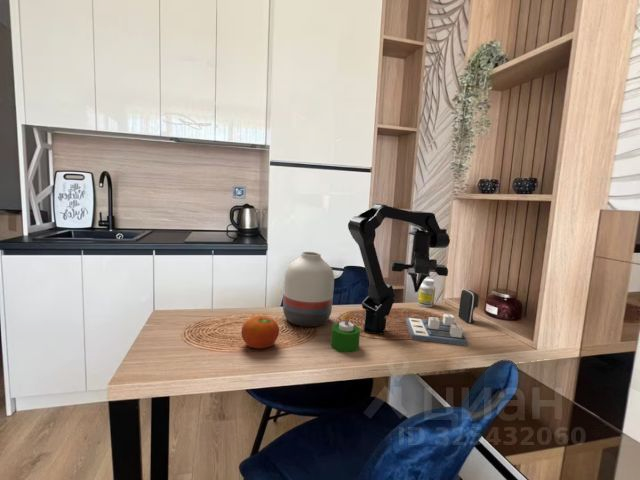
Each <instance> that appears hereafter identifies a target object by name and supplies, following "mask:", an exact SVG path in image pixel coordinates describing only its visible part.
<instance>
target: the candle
mask: <svg viewBox="0 0 640 480" xmlns="http://www.w3.org/2000/svg"><path fill="white" fill-rule="evenodd" d="M330 336H331V338H330V348H332V349H333V350H334V351H337V352H340V353H347V354H348V353H355V352H357V351H358V350H359V346H360V336H361V328H360V327H359V326H357V325H355V324H354V323H352V322H351V321H350V315H349V313H345V315H344V321H340V322H339V323H335V324H333V325H332V327H331V335H330Z"/></svg>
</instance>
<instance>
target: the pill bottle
mask: <svg viewBox="0 0 640 480" xmlns="http://www.w3.org/2000/svg"><path fill="white" fill-rule="evenodd" d="M418 292H419V294H418V302H417V303H418V305H419V306H421V307H424V308H431V307H433V306H434V302H435V294H436V293H435V292H436V286H435V280H434V279H432V278H428V277H426V278H425V279H424V281H423V282H422V284H421V286H420V288H419V290H418Z"/></svg>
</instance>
